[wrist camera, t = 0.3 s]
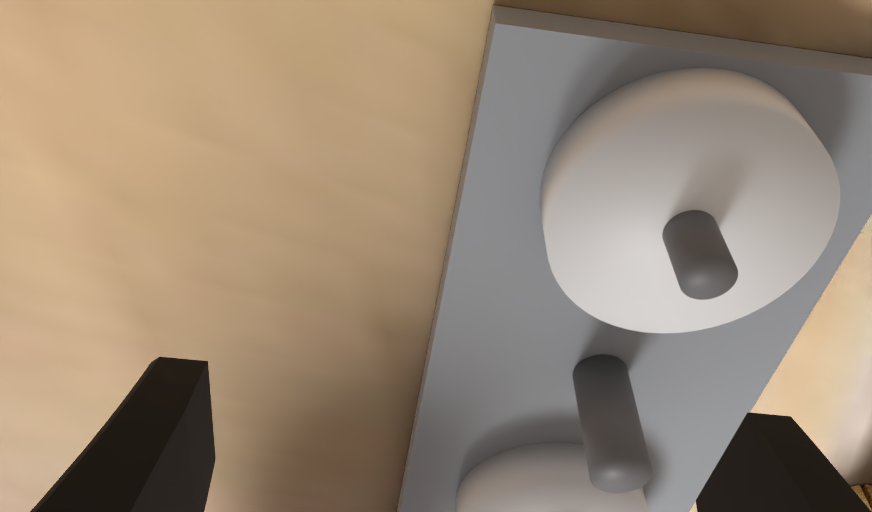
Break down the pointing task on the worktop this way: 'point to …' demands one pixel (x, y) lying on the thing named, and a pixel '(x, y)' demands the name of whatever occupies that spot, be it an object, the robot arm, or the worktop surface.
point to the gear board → (543, 323)
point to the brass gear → (864, 494)
